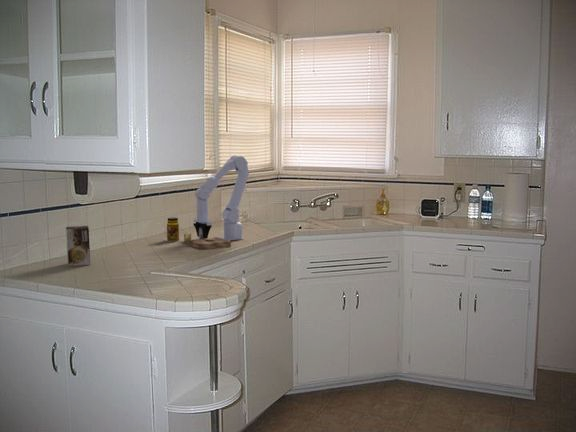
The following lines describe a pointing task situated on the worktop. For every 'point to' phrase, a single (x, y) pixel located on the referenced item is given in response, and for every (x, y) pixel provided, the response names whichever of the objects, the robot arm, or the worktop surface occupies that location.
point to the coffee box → (78, 245)
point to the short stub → (187, 237)
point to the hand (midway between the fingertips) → (202, 237)
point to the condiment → (172, 230)
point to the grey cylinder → (200, 233)
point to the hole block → (209, 243)
